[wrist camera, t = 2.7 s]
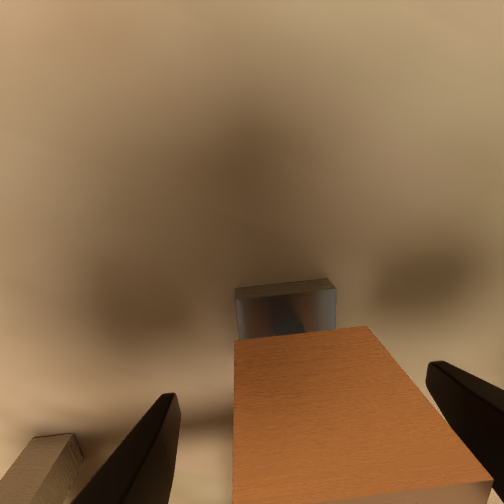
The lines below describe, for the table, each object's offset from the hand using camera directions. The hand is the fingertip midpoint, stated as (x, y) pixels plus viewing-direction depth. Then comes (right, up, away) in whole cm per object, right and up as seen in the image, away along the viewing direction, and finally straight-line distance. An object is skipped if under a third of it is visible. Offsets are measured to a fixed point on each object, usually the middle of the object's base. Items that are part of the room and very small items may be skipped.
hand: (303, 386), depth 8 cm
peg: (0, +1, +3) cm, 4 cm away
